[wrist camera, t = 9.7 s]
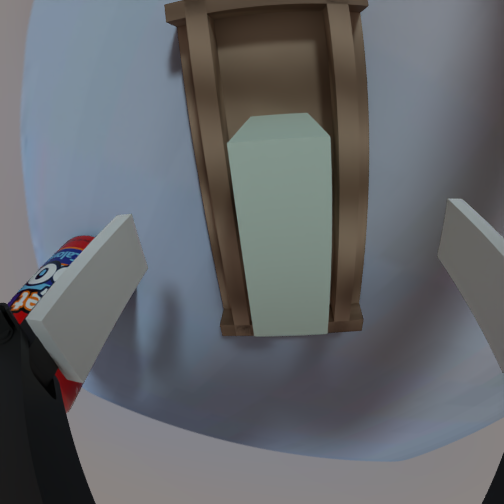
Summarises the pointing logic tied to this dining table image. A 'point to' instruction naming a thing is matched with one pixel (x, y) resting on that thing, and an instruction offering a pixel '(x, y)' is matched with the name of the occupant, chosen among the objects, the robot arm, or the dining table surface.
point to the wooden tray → (272, 103)
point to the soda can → (39, 286)
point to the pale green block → (284, 221)
